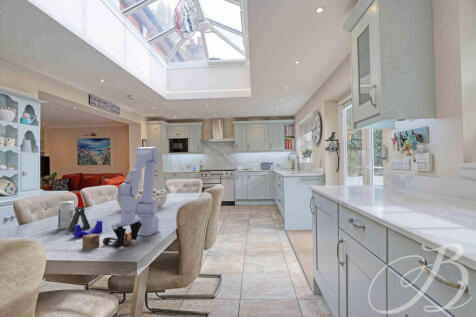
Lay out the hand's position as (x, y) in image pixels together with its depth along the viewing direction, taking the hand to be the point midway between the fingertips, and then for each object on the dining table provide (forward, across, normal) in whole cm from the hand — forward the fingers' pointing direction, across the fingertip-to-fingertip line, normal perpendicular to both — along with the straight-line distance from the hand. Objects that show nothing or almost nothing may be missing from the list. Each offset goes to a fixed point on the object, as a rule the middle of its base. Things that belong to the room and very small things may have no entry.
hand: (127, 241), depth 108 cm
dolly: (+1, 0, -6) cm, 6 cm away
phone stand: (+2, -9, -46) cm, 47 cm away
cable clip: (+2, -4, -31) cm, 31 cm away
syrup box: (+2, -8, -56) cm, 57 cm away
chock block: (+2, +8, -13) cm, 15 cm away
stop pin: (+1, 0, -3) cm, 3 cm away
